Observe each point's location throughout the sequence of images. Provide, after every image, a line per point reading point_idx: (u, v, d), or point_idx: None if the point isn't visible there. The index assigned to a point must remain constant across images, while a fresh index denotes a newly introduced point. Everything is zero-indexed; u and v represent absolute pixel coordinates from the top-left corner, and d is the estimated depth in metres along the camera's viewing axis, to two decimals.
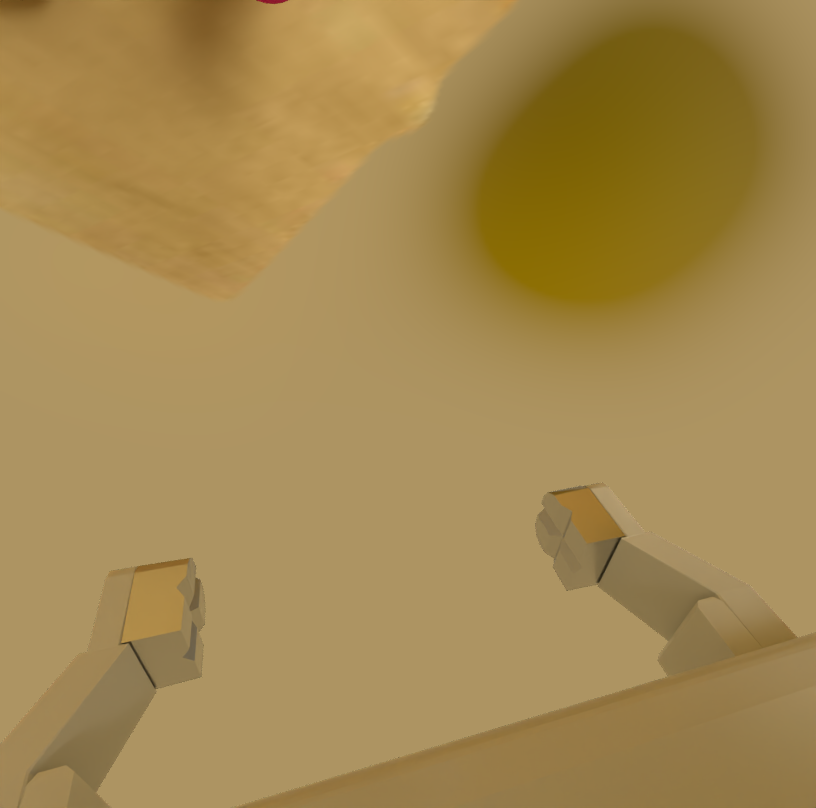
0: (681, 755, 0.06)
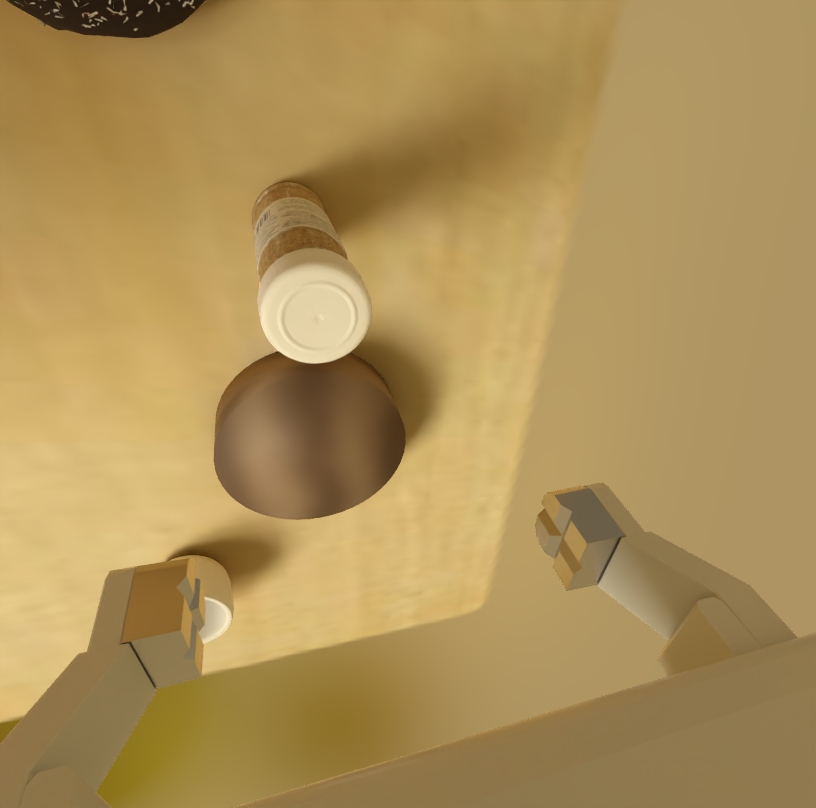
0: (681, 755, 0.06)
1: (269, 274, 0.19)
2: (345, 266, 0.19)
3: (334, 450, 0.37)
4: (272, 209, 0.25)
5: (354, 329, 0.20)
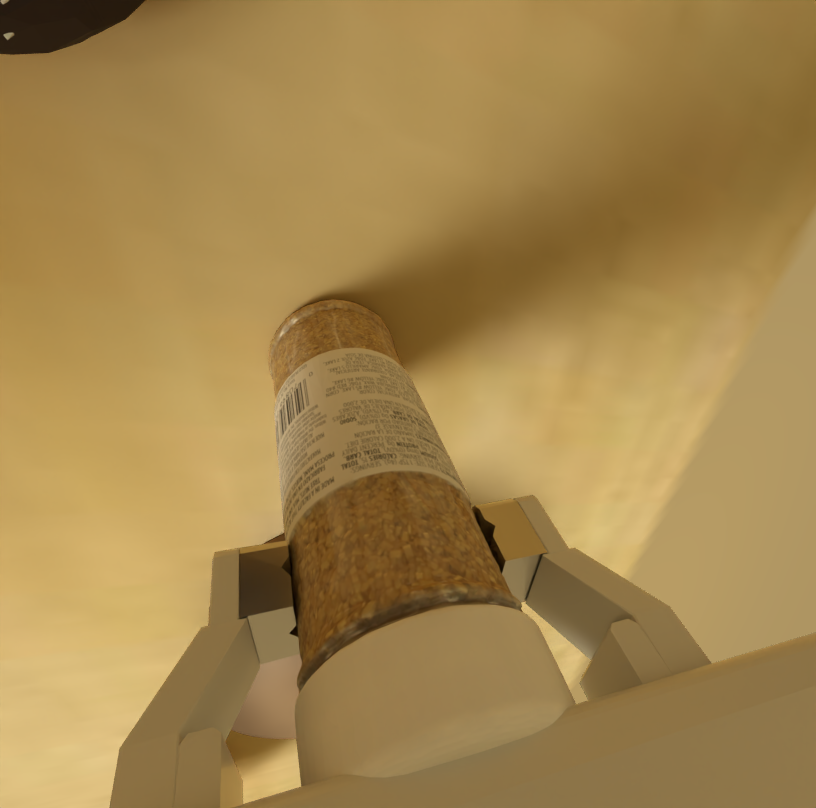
0: (681, 755, 0.07)
1: (332, 711, 0.07)
2: (540, 686, 0.07)
3: None
4: (312, 384, 0.13)
5: None
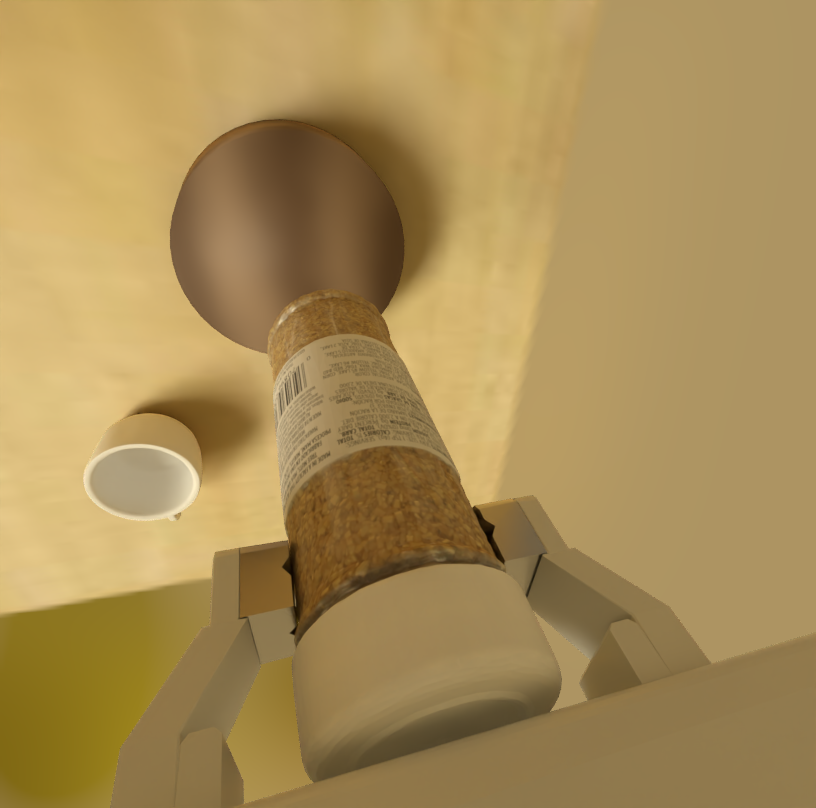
0: (681, 755, 0.07)
1: (327, 658, 0.07)
2: (520, 635, 0.08)
3: (319, 254, 0.31)
4: (309, 367, 0.13)
5: None
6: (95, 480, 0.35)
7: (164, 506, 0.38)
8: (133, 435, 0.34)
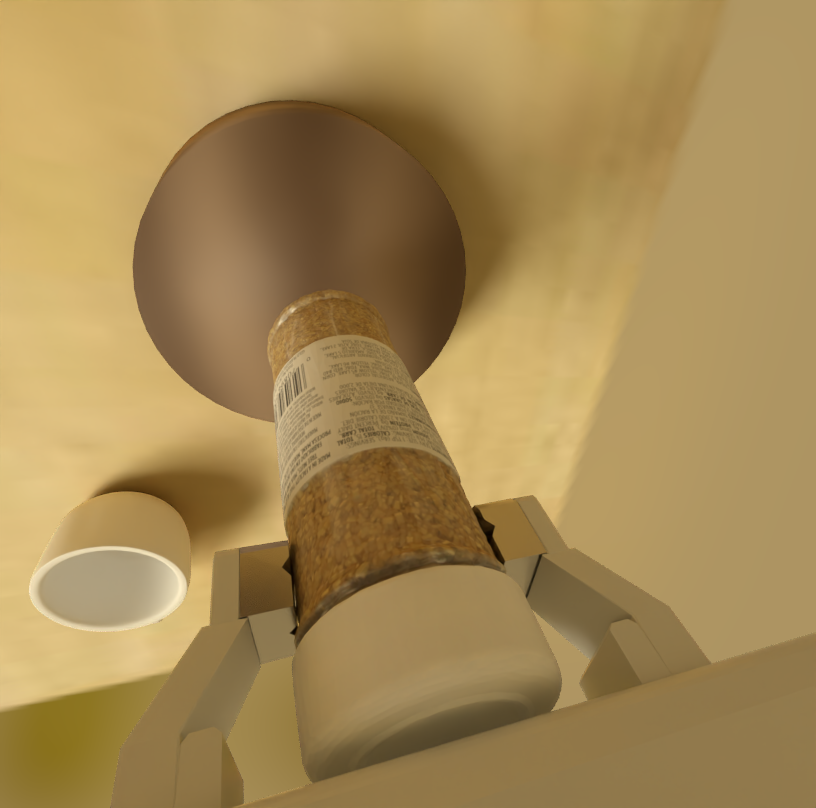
0: (681, 755, 0.06)
1: (327, 659, 0.07)
2: (520, 637, 0.08)
3: (348, 291, 0.22)
4: (309, 368, 0.13)
5: None
6: (47, 589, 0.26)
7: (142, 610, 0.30)
8: (95, 531, 0.25)
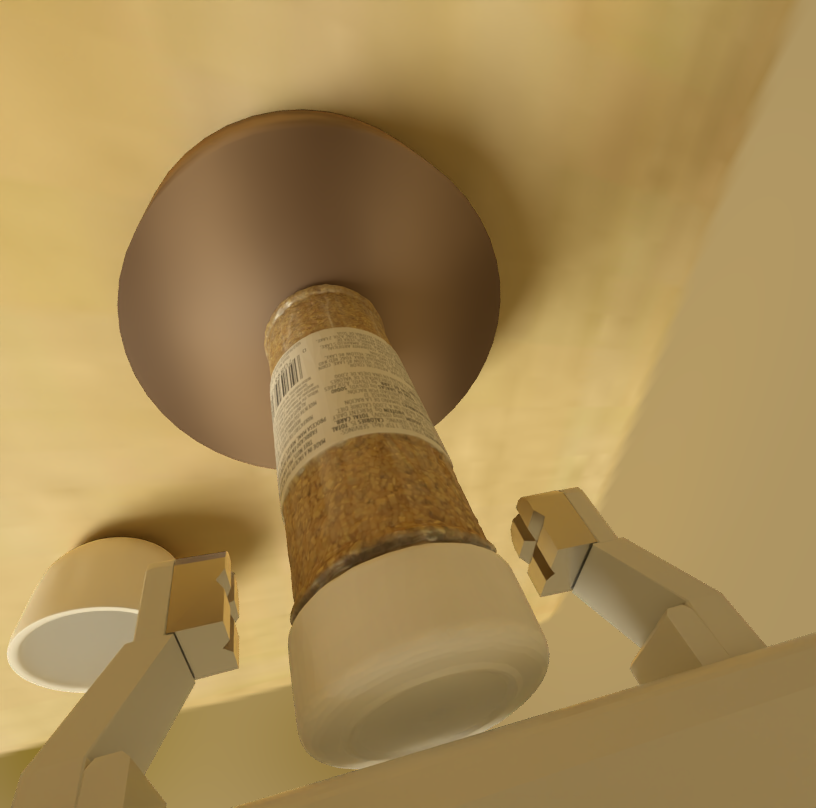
0: (681, 755, 0.07)
1: (322, 632, 0.08)
2: (508, 609, 0.08)
3: None
4: (305, 359, 0.14)
5: (506, 708, 0.09)
6: (28, 651, 0.24)
7: None
8: (81, 589, 0.23)
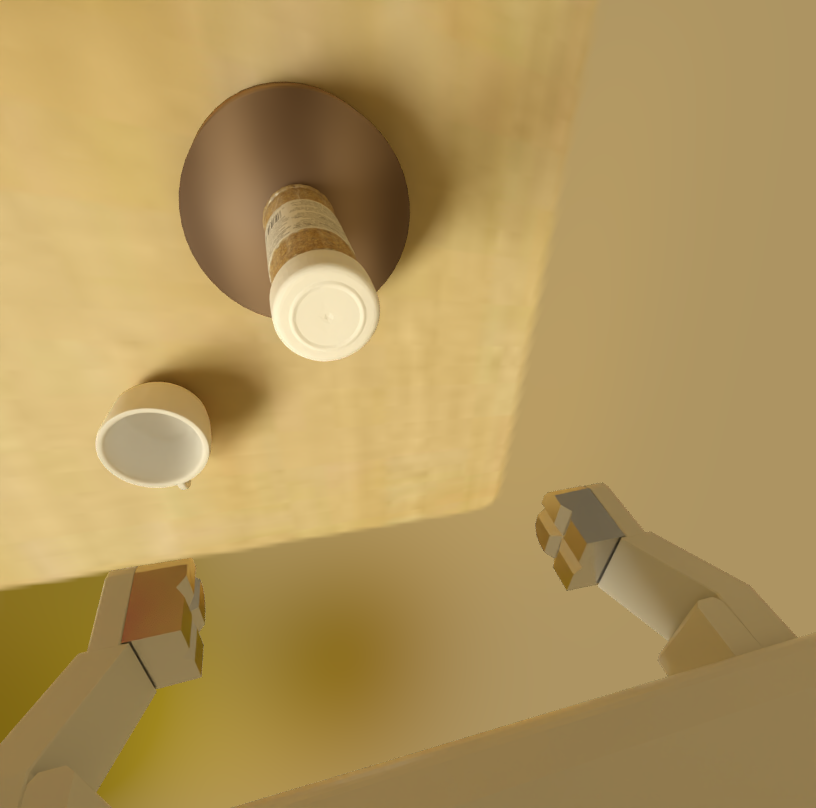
0: (681, 755, 0.07)
1: (281, 274, 0.20)
2: (355, 267, 0.20)
3: None
4: (283, 210, 0.26)
5: (362, 328, 0.21)
6: (107, 446, 0.36)
7: (174, 474, 0.39)
8: (143, 400, 0.35)
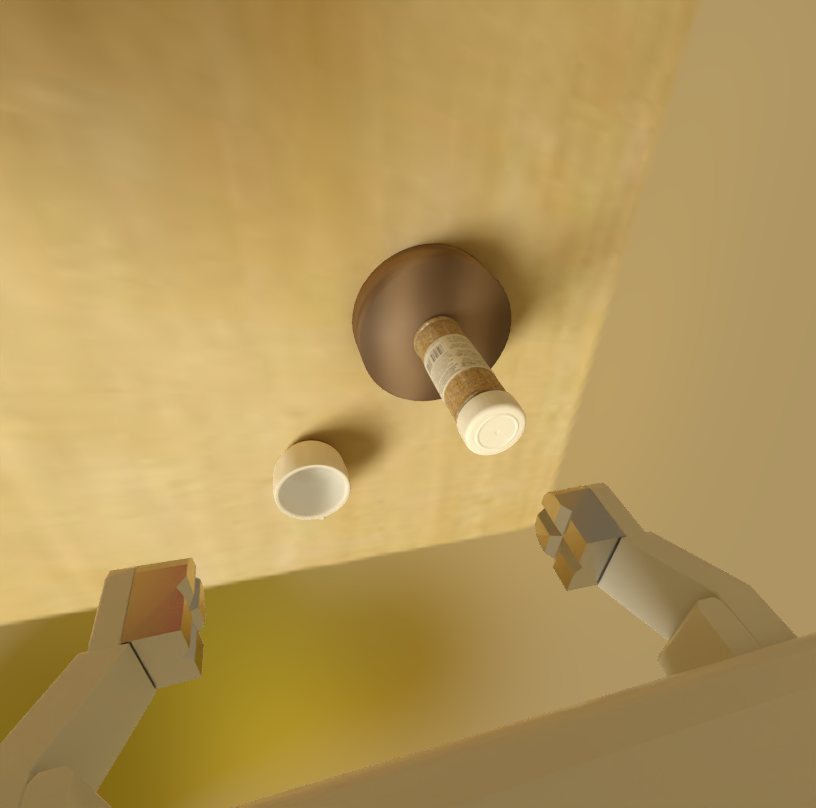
0: (681, 755, 0.07)
1: (471, 407, 0.33)
2: (515, 403, 0.33)
3: None
4: (443, 345, 0.39)
5: (514, 436, 0.34)
6: None
7: (320, 509, 0.52)
8: (310, 458, 0.48)
